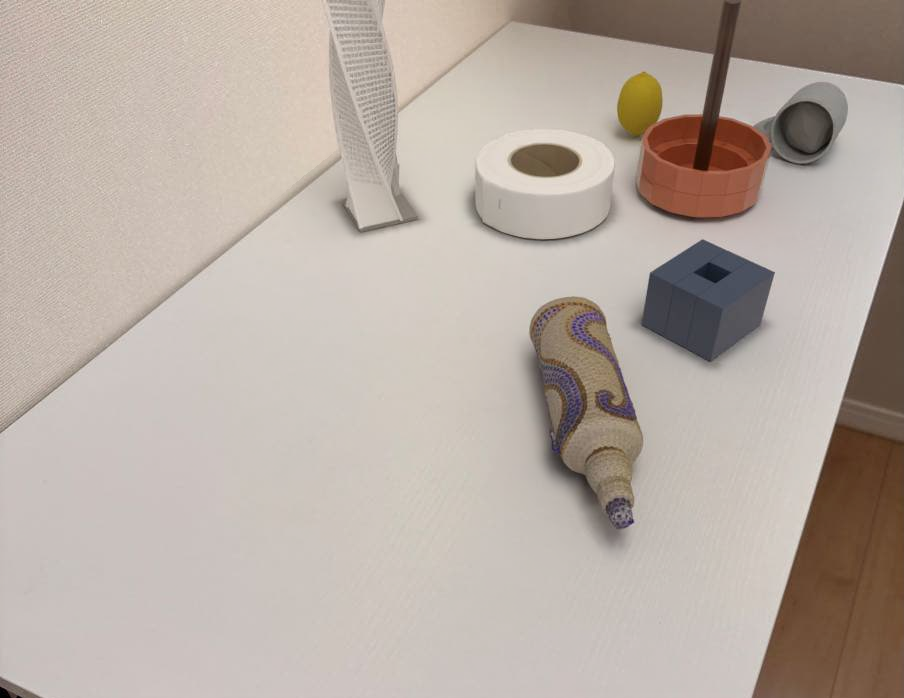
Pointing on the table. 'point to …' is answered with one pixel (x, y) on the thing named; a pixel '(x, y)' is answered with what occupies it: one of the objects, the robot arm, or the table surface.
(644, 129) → the lemon
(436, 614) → the table surface
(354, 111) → the skyscraper
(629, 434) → the decorative bottle
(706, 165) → the stick
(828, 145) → the ceramic mug
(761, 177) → the bowl
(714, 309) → the stand
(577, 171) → the tape roll
